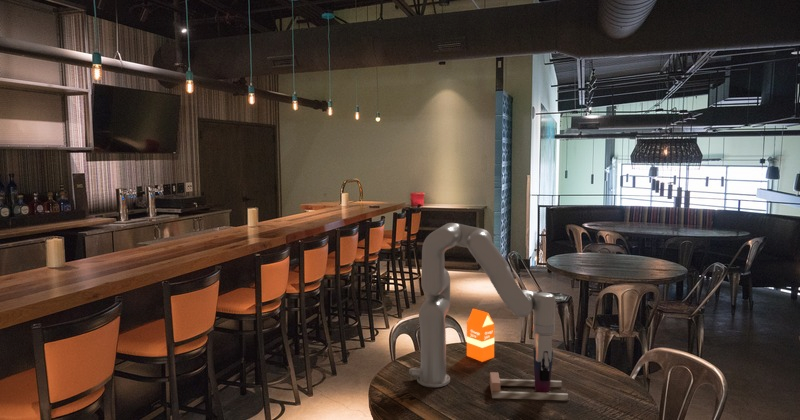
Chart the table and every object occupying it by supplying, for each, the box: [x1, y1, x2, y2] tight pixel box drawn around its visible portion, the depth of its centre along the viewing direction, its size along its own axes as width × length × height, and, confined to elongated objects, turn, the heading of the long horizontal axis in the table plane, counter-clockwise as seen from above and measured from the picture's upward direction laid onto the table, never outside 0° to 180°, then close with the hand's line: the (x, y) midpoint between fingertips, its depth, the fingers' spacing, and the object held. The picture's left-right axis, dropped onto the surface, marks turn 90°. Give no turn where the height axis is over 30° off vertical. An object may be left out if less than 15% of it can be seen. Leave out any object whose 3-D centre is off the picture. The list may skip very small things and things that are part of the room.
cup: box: [532, 347, 554, 393], centre depth 184 cm, size 7×7×15 cm
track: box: [489, 371, 569, 401], centre depth 185 cm, size 26×11×5 cm, turn 84°
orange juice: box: [466, 308, 495, 363], centre depth 217 cm, size 8×9×20 cm
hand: (542, 376), depth 184 cm, fingers closed on cup, 6 cm apart
